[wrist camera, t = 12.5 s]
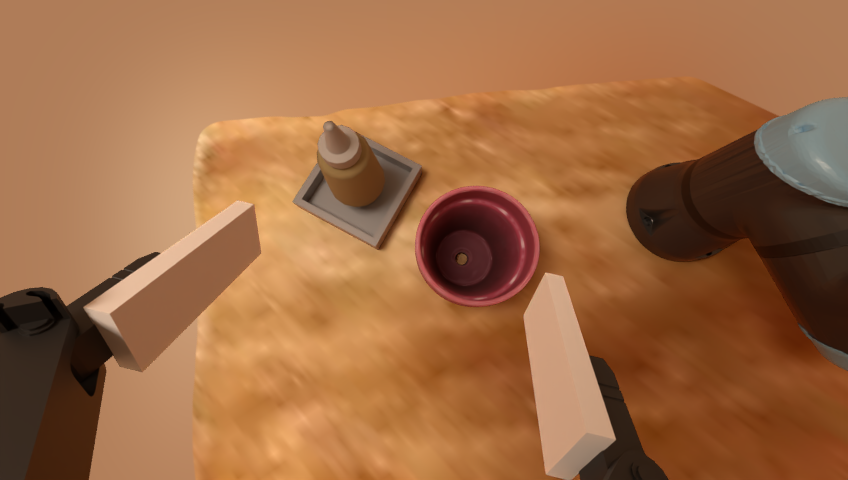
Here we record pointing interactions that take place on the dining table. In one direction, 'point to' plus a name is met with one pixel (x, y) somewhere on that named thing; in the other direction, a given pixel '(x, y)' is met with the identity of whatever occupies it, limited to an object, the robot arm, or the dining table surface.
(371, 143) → the tray
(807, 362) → the dining table surface
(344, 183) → the squeeze bottle
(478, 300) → the plant pot
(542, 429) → the robot arm
